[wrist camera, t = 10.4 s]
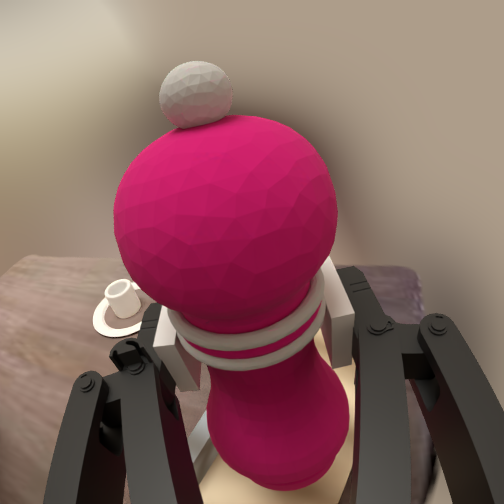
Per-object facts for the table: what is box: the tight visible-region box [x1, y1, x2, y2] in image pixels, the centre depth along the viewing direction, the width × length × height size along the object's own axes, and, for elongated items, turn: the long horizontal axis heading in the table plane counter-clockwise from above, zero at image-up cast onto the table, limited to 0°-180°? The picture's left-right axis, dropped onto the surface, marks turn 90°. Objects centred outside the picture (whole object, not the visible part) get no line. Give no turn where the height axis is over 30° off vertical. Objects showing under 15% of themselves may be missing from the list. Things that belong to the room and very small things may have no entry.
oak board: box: [187, 329, 356, 504], centre depth 24 cm, size 21×12×4 cm, turn 155°
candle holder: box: [93, 279, 142, 337], centre depth 42 cm, size 12×12×4 cm
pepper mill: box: [114, 61, 350, 491], centre depth 12 cm, size 7×7×20 cm
